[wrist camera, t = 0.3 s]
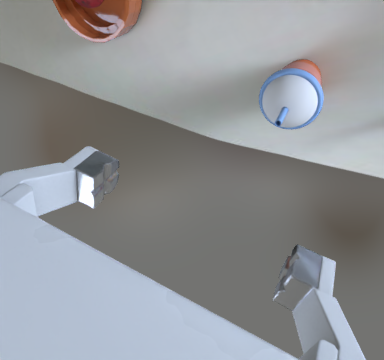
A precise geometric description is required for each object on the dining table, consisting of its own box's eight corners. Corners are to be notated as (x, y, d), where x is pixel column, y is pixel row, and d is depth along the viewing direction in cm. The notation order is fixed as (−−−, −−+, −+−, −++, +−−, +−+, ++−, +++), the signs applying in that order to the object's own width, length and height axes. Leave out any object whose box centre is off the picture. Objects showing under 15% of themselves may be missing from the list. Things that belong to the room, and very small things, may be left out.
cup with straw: (280, 107, 59) (253, 157, 46) (268, 58, 55) (235, 97, 42) (334, 97, 54) (321, 150, 41) (325, 42, 50) (308, 81, 37)
